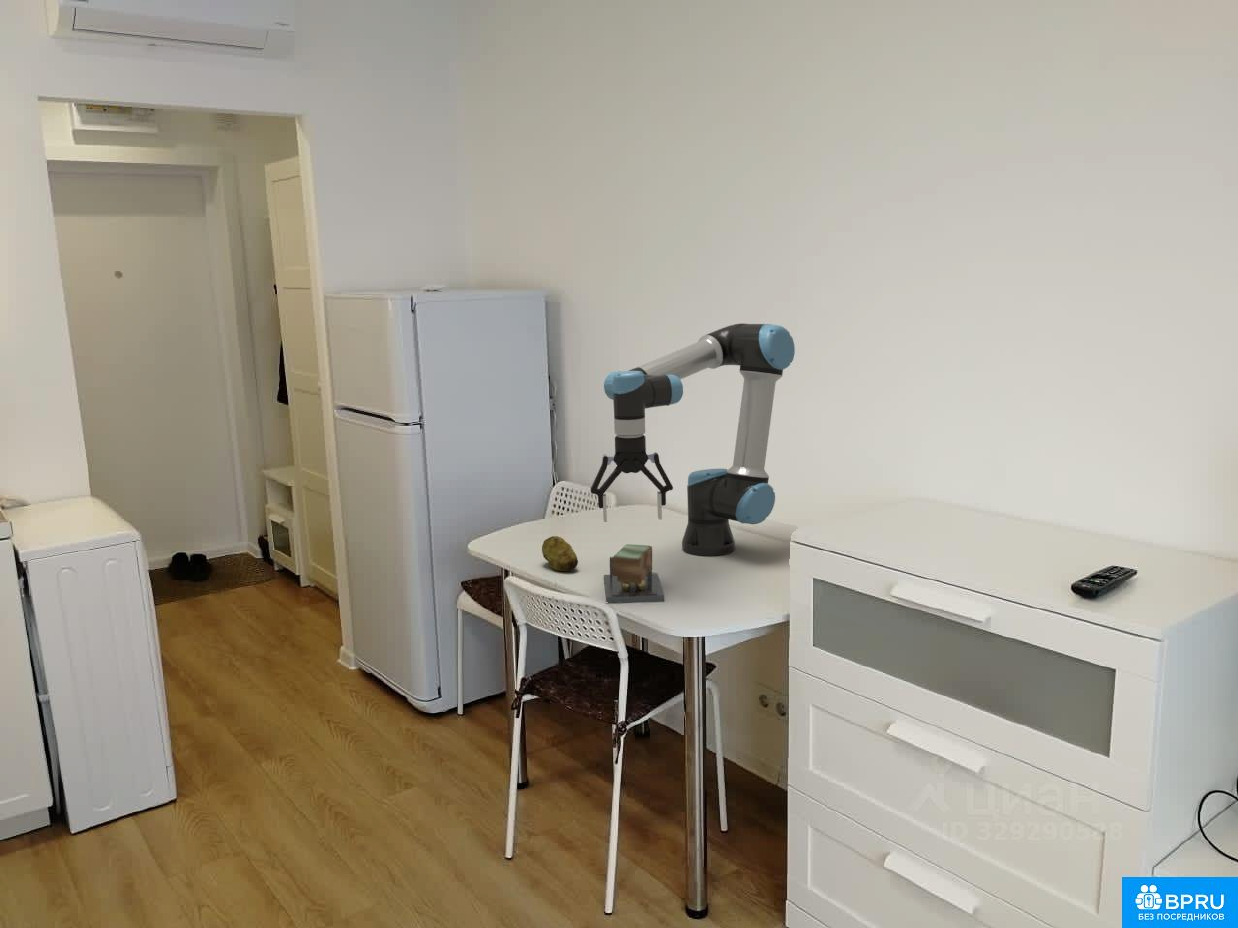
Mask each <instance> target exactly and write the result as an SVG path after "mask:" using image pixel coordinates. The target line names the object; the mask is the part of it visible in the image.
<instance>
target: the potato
mask: <svg viewBox="0 0 1238 928" xmlns="http://www.w3.org/2000/svg"><path fill="white" fill-rule="evenodd" d="M541 553H542V556H543V558H544V559H545V560H546V561H547V562H548V565H549V566H550V568H552V569H553V570H555V571H559V572H571V571H573V570H576V568H577V567H578V564H579V560H578V557H577V554H576V553H575V551H574V549H573V546H572V545H571V544H569V542H567V541H566V540H565V539H564V538H562V537H561V536H557V535H555V536H553V535H552V536H549V537H548V538H546V539H545V540H543V543H542V545H541Z"/></svg>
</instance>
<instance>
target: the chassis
mask: <svg viewBox="0 0 1238 928" xmlns="http://www.w3.org/2000/svg"><path fill="white" fill-rule="evenodd" d="M612 557H613V556H609V574H603V586H604V594H605V601H606V602H608V603H607V604H621V603H622V604H624V603H626V604H627V603H649V602H650V603H651V602H654V603H655V602H664V601H665V594H664V590H663V587H662V584H661V580H660V578H659V577H660V576H659V573H658V572H653V569H652V570H651V571H650V572H649V574H648V575H647V576H646V577H645V578H644V579H643V580H642V581H641V583H627V582H617V575H612ZM606 602H605V603H606Z"/></svg>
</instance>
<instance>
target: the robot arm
mask: <svg viewBox="0 0 1238 928" xmlns="http://www.w3.org/2000/svg"><path fill="white" fill-rule="evenodd" d="M794 342H795V341H794V339H793V336H792V335H791V334H790V332H789V331H788V329H787V328H785V327H783V326H782V325H778V324H777V325H776V324H772V323H734V324H731V325H727V326H725V327H721V328H718V329H717V330H713V331H712V332H709V333H707V334H705V335H702V336H701V337H700V338H698V341H697V342H695V343H692V344H690V345H688V346H686V347H683V348H680V349H677V350H675V351H672V352H670V353H669V354H667V355H664V356H661V357H659V358H657V359H653V360H651V361H648V362H646V363H644V364H642V365H639V366H637V367H635V368H631V369H629V370H623V371H613V372H610V373H608V375H607V376H606V377H605V379H604V383H603V391H604V394H605V395H606V396H607V398H609V399H610V400H612V401H613V402H612V403H613V417H614V418H613V424H614V426H613V427H614V429H613V430H614V434H615V435H616V436H615V437H614V455H607V454H603V456H602V459H601V461H602V462H601V466H600V467H599V470H598V472H597V474H596V476H595V478H594V480H593V482H592V485H591V487H590V493H591V494H592V495H597V505H598V508H599V509H602V513H603V515H602V516H603V522H604V523H607V522H608V521H607V520H608V518H607V517H608V515H607V514H608V513H607V512H608V511H607V494H606V491H607V490H608V489H609V488H610V486H611V485H612V484H613V483H614V481H615V480H616V479H617V477H619V476H620V474H621V473H624V474H630V473H634V474H638V473H639V472H642V474H644V475H645V476H646V477H647V479H648V480H649V481H650V482H651V483H652V484H653V485H654V486H655V487H656V488H657V489H658V491H656V492H657V493H656V494H657V518H658V520H663V510H662V508H663V506H666V504H667V493H668V492H669V491H673V490H674V486H673V484H672V482H671V481H670V478H669V477H668V475H667V473H666V471H665V470H664V468H663V466H662V464H661V461H660V456H659V453H658V452H653V453H651V454H647V447H646V445H647V444H646V443H647V441H646V435H644V434H645V433H646V409H650V408H657V407H664V406H665V407H666V406H671V405H675V404H678V403H679V402H680V401H681V400H682V398H683V394H684V386H683V383H682V380H683V379H685V378H688V377H689V376H691V375H694V374H697V373H699V372H701V371H704V370H707V369H717V368H720V367H723V366H739V373H740V375H741V376H742V378H743V383H742V384H743V385H742V393H741V401H740V407H739V414H738V415H739V416H738V424H737V430H736V431H737V432H736V441H735V448H734V455H733V463H732V466H730V468H728V469H727V468H707V469H700V470H695V471H692V472H690V473H689V475H688V477H687V486H686V488H687V492H686V493H687V494H686V495H687V525H686V527H685V531H684V534H683V537H682V541H681V549H682V550H683V551H684V552H685V553H688V554H690V555H695V556H708V557H709V556H710V557H711V556H722V555H726V554H731V553H732V552H734V551H735V549H736V541H735V537H734V534H733V531H732V529H731V526H730V521H735V522H739V523H740V524H747V525H758V524H760V523H763V522H765V520H766V519H767V518H768V517H769V516H770V515H771V513H772V511H773V509H774V506H775V503H776V493H775V491H774V488H773V486H772V485H770V484H769V478H770V475H769V474H768V473H767V472H766V470H765V466H766V458H767V450H768V442H769V435H770V428H771V421H772V413H773V406H774V405H773V404H774V399H775V390H776V383H777V381H779V380H780V379H782V378H783V374H784V370H785V369H787V368H788V367H789V366H791V363H793V361H794V357H795V354H796V353H795V352H796V351H795V347H796V346H795V343H794ZM649 460H650V462H651V463H652V464H655V468H656V469H657V471H658V472H659V475H660V476H661V478H662V480H663V482H664V483H665V485H663V484H662V483H661V481H659V480H658V479H657V478H656V477H655V475H654V474H653V473H652V472H651V471H650V469H648V468H647V466H646V464H647V462H648V461H649ZM613 462H614V463H615V465H616V467H615V468H614V469H613V471H612V472H611V474H610V475H609V476H608V477H607V479H605V481H604V482H603V483H602V484H601V486H600V487H599V485H600V483H601V480H602V479H603V477H604V474H605V473H606V470H607V467H608V466H610V465H611V463H613ZM729 520H730V521H729Z"/></svg>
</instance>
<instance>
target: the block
mask: <svg viewBox="0 0 1238 928" xmlns="http://www.w3.org/2000/svg"><path fill="white" fill-rule="evenodd" d="M611 557H612V575H617V582H627V583H641V581H642V580H643V579H644V578H645V577H646V576H647V575H648V574H649V572H650V571H651V570H652V571H653V546H651V545H646V544H645V545H644V544H631V543H627V544H625V545H624V546H622V548H621V549H620V550H618V551H617V552H616V553H615V554H614V555H613V556H611Z"/></svg>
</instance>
